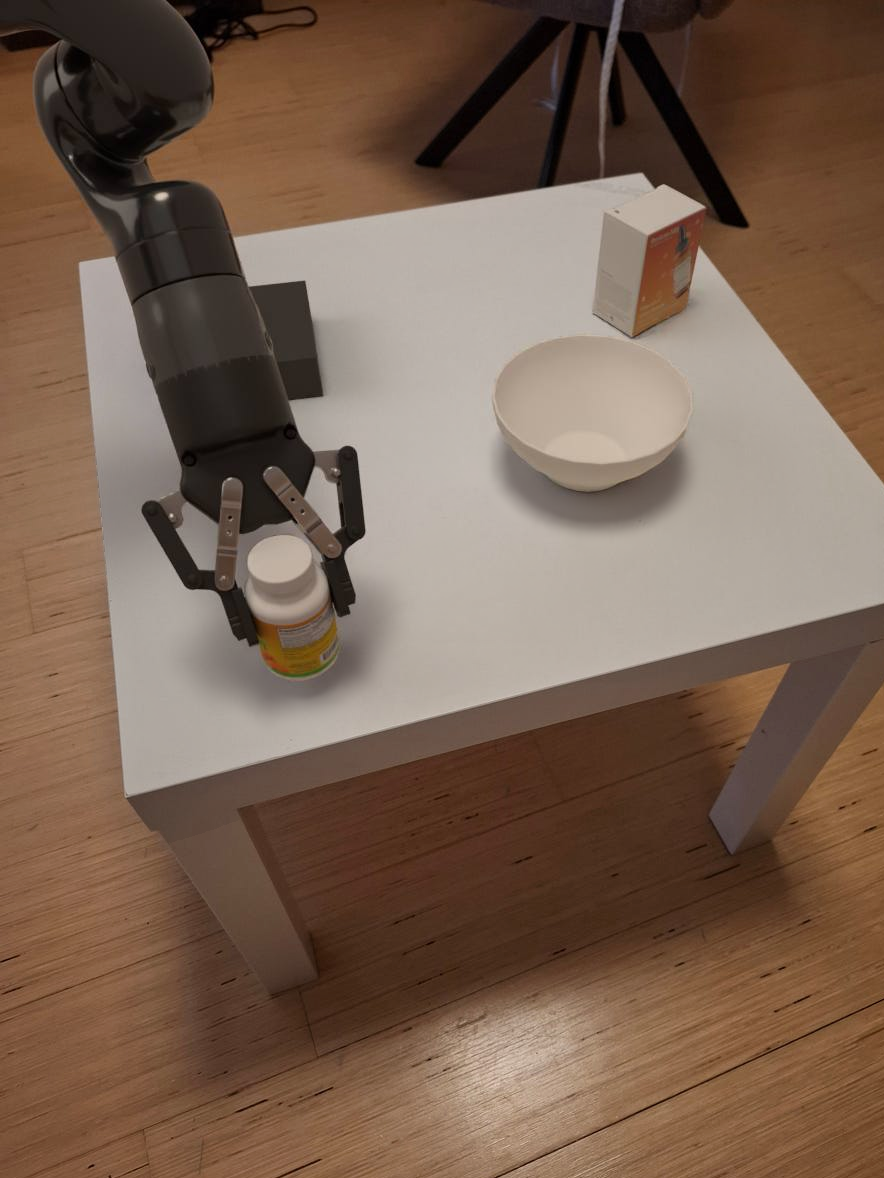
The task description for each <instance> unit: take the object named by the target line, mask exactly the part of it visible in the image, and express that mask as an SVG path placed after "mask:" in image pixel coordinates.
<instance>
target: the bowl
mask: <svg viewBox="0 0 884 1178" xmlns="http://www.w3.org/2000/svg"><path fill="white" fill-rule="evenodd" d="M491 401H492V407H493V408H492V409H493V412H494V416H495V421H496V424H497V426H498V429H499V430H500V432H501V434H502V436H503V437H504V439H505V440H506V442H507V443H508V444H509V446H510V447H511V449H512V450H513V451H514V453H516V454H517V456H519V457H520V458H521V459H522V460H524V461H525V462H526V463H527V464H528V465H530V466H531V467H532V468H533V469H535V470H536V471H538V472H540V473H542V474H544V475H546V477H547V478H548V479H549V480H551V481H552V482H553V483H554V484H556V485H559V486H561V487H563V488H565V489H567V490H568V489H569V490H572V491H576V492H584V493H585V492H587V493H591V492H601V491H603V490H606V489H610V488H613V487H614V486H616V485H617V484H620V483H622V482H625V481H627V480H631V479H634V478H637V477H638V476H641V475H644V474H645V473H646V472H648V471H650V470H651V469H653V468H655V467H656V466H659V464H660V463H662V462H664V460H666V458H667V457H668V456H669V455H670V454H671V453H672V452H673V451H674V450H675V448H676V447H677V446H678V445H679V444H680V442H681V441H682V440H683V439H684V437H685V435H686V432H687V430H688V427H689V424H690V422H691V419H692V416H693V414H694V412H695V411H694V393H693V391H692V389H691V387H690V384H689V382H688V380H687V377H686V376H685V375H684V374H683V373H682V372H681V370H679V368H678V367H677V366H676V365H675V364H674V363H673V362H672V361H670V360H669V359H667V358H666V357H664V356H663V355H662V354H660V353H659V352H657V351H656V350H654V349H651V348H650V347H646V346H644V345H642V344H640V343H638V342H635V341H632V340H628V339H623V338H619V337H615V336H611V335H602V334H600V335H598V334H586V333H582V334H572V335H562V336H557V337H553V338H549V339H545V340H542V341H538V342H536V343H533V344H532V345H530V346H527V347H526V348H523V349H522V350H520V351H518V352H517V353H515V354H514V355H513V356H512V357H510V359H509V360H508V361H506V362H505V363H504V364H503V365H502V367H501V368H500V370H499V371H498V373H497V375H496V377H495V379H494V380H493V387H492V392H491Z"/></svg>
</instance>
